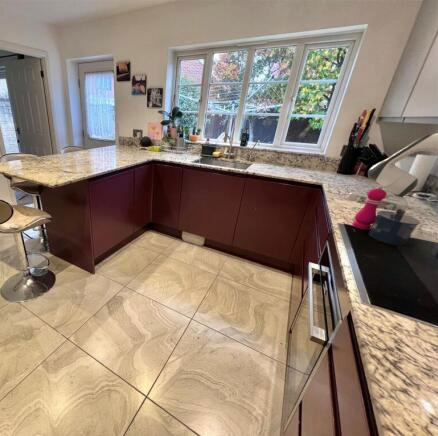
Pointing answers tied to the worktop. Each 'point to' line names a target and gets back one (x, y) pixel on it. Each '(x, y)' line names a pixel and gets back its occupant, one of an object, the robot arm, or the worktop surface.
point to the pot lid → (398, 217)
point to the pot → (391, 231)
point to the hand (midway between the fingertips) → (372, 204)
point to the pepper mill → (369, 208)
